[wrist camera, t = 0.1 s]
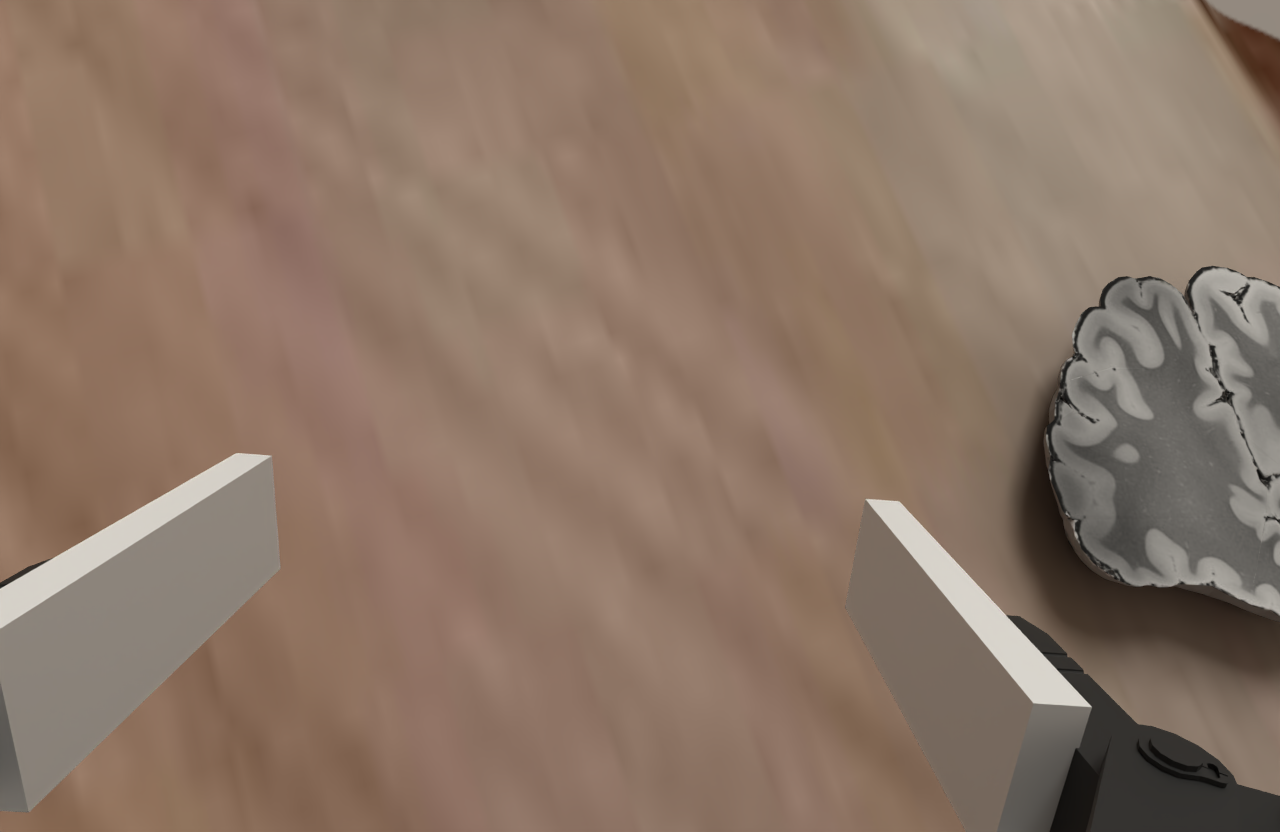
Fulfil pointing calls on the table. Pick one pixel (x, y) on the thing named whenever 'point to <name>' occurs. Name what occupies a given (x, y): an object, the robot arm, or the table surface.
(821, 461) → the table surface
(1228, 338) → the brain slice
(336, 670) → the table surface
